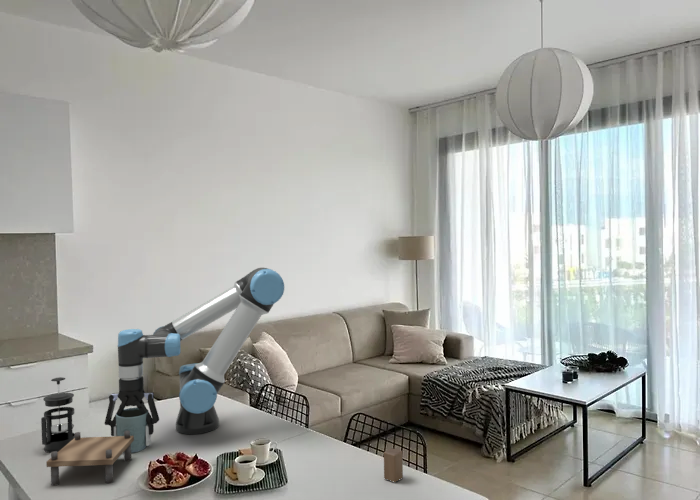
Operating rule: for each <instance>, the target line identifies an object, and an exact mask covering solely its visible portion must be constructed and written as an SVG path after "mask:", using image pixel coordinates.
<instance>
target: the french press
mask: <svg viewBox="0 0 700 500" xmlns="http://www.w3.org/2000/svg"><path fill="white" fill-rule="evenodd" d="M64 380H66V377H60V376H59V377H54V378H52V379H51V380H50V382H56V385H57V393H54V394H49V395H47V396H44V397H43V402H44V406H45V407H49V408H50V409H48V410H45V411H44V412H43V417H41V421H40V423H41V424H40V425H41V427H40V428H41V444H42V445H44V448H43V450H44V451H45V452H46V453H51V452H54V451H57V452H59V451H60V450H61V449H62V448H63V447H64V446H66V445H67V444H68V443H69V442H70V441H72V440H73V439H74V438H75V432H73V429H74V426H75V425H74V424H73V416H74V415H75V408H74V407H71V406H68V405H70V404H72V403H73V402H74V401H73V399H74V398H73V397H74V396H75V394H74V393H73V392H60V385H61V382H62V381H64ZM66 405H67V406H66ZM51 407H53V408H52V409H51ZM66 411H67V412H66ZM61 412H66V413H63V414H61ZM53 413H58V414H55V415H52V414H53ZM66 418H67V423H61V419H66ZM52 420H58V423H57V424H55V425H53V424H52V423H53V421H52Z"/></svg>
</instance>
